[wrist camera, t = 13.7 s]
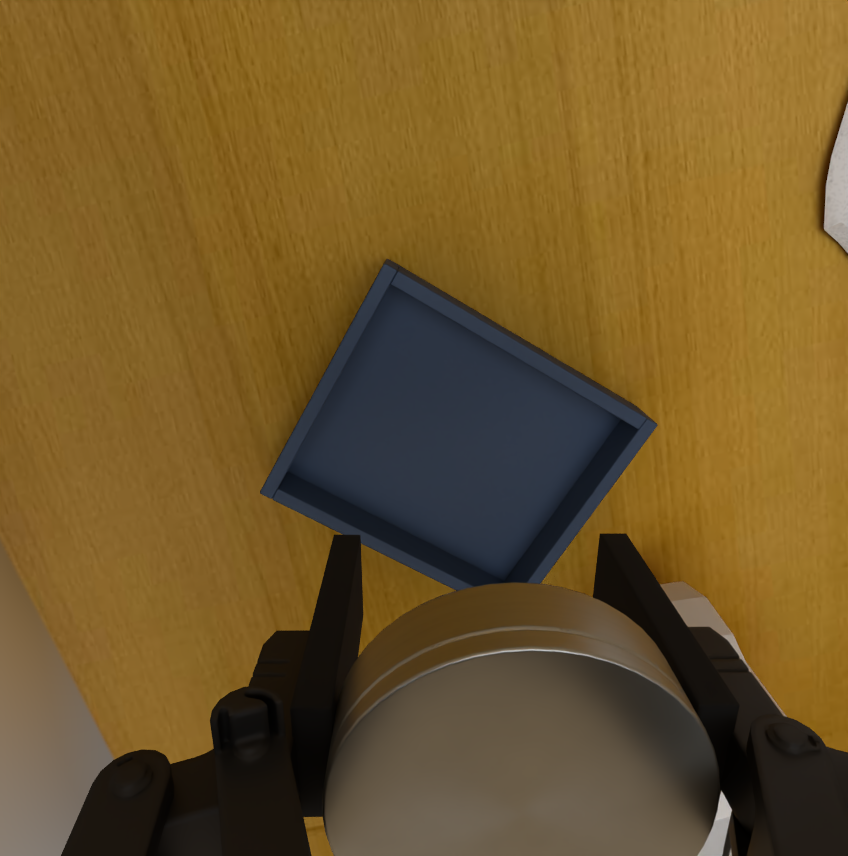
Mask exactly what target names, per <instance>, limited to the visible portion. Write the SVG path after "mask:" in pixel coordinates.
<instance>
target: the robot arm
mask: <svg viewBox="0 0 848 856" xmlns="http://www.w3.org/2000/svg"><path fill="white" fill-rule="evenodd" d="M593 598H595V599H598V600H600V601H602V602H604V603H606V604H608V605H610V606H611V607H613V608H615V609H616V610H618V611H620V612H621V613H623V614H625V615H626V616H627V617H628V618H630V619H631V620H632V621H633V622H635V623H636V624H637V625H638V626H640V627H641V628H642V629H643V630H644V631H645V632H646V634H647V635H648V636H649V637H650V638H651V639H652V640H653V641H654V642H655V644H656V645H657V647H658V648H659V650H660V651H661V653H662V654H663V656H664V657H665V659H666V660H667V662H668V664H669V666H670V667H671V669H672V671H673V673H674V674H675V676H676V678H677V680H678V682H679V683H680V685H681V687H682V689H683V690H684V692H685V694H686V696H687V697H688V699H689V701H690V703H691V705H692V706H693V709H694V710H695V712H696V713H697V715H698V717H699V719H700V720H701V722H702V724H703V726H704V728H705V729H706V731H707V734H708V736H709V738H710V740H711V743H712V745H713V747H714V750H715V754H716V758H717V763H718V767H719V780H720V794H721V790H722V792H723V794H724V796H725V798H726V800H727V802H728V804H729V806H730V807H731V809H732V812H731V816H730V821H729V825H728V829H727V834H726V838H725V843H724V847H723V855H722V856H729V854H730V850H731V853H732V856H848V753H847V752H843V751H839V750H835V749H832V748H829V747H826V746H825V744H824V743H823V741H822V739H821V738H820V737H819V736H818V735H817V734H816V733H815V732H814V731H812V730H811V729H810V728H809V727H807V726H805V725H803V724H802V723H800V722H798V721H797V720H794V719H791V718H788V717H785V716H783V715H782V713H781V712H780V711H779V709H778V708H777V706H776V705H775V704H774V702H773V701H772V700H771V698H770V697H769V696H768V694H767V693H766V692H765V690H764V689H763V687H762V686H761V685H760V683H759V682H758V681H757V679H756V678H755V677H754V675H753V674H752V672H749V668H748V667H747V666H746V664H745V663H744V662H743V660H742V659H740V658H739V655H738V653H737V652H736V651H735V649H734V648H733V647H732V645H731V644H730V643H729V641H728V640H727V639H725V638H724V637H723V636H721V635H720V634H719V633H717V632H716V631H715V630H713V629H712V628H710V627H688V626H687V625H686V623H685V622H684V620H683V619H682V617H681V616H680V614H679V613H678V611H677V610H676V608H675V607H674V605H673V604H672V602H671V601H670V599H669V598H668V596H667V595H666V593H665V592H664V590H663V589H662V587H661V586H660V584H659V583H658V581H657V580H656V578H655V577H654V575H653V574H652V572H651V571H650V569H649V568H648V566H647V564H646V563H645V561H644V560H643V558H642V557H641V555H640V554H639V552H638V551H637V549H636V548H635V546H634V545H633V543H632V542H631V540H630V539H629V537H628V536H627V534H600V538H599V547H598V556H597V565H596V575H595V584H594V593H593ZM362 621H363V595H362V566H361V537H360V535H334V537H333V541H332V545H331V549H330V553H329V557H328V560H327V564H326V568H325V572H324V576H323V580H322V584H321V588H320V592H319V596H318V600H317V604H316V608H315V612H314V616H313V620H312V624H311V627H310V631H276V632H275V633H274V634H273V635H272V636H271V637H270V638H269V639H268V640H267V641H266V642H265V643H264V644H263V647H262V650H261V652H260V655H259V658H258V662H257V664H256V667H255V669H254V672H253V677H252V678H251V681H250V684H249V686H248V687H243V688H240V689H238V690H235V691H232V692H230V693H229V694H227V695H226V696H225V697H223V698H222V699H221V700H219V702H218V703H217V704H216V706H215V707H214V708H213V710H212V713H211V718H210V724H211V732H212V739H213V746H214V749H212V750H211V751H209V752H207V753H205V754H203V755H200V756H197V757H195V758H191V759H187V760H184V761H180V762H177V763H173V764H170V763H169V761H168V759H167V757H166V756H165V755H164V754H162V753H160V752H158V751H156V750H138V751H134V752H130V753H127V754H125V755H123V756H121V757H119V758H117V759H115V760H113V761H112V762H111V763H110V764H109V765H107V766H106V767H105V768H104V769H103V770H102V771H101V772H100V773H99V775H98V776H97V778H96V779H95V781H94V782H93V784H92V786H91V788H90V791H89V793H88V795H87V797H86V800H85V802H84V804H83V807H82V809H81V811H80V813H79V816H78V818H77V820H76V823H75V825H74V827H73V829H72V832H71V834H70V836H69V839H68V841H67V843H66V845H65V848H64V850H63V852H62V854H61V856H311V852H310V847H309V842H308V838H307V833H306V828H305V823H304V819H303V817H323V815H322V793H323V787H324V780H325V774H326V769H327V762H328V755H329V749H330V744H331V738H332V733H333V726H334V720H335V714H336V708H337V702H338V697H339V694H340V692H341V689H342V686H343V683H344V680H345V678H346V677H347V675H348V673H349V671H350V669H351V668H352V666H353V664H354V662H355V661H356V660H357V658H358V651H359V644H360V636H361V628H362ZM719 799H720V795H719Z"/></svg>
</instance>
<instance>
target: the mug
mask: <svg viewBox="0 0 848 856" xmlns="http://www.w3.org/2000/svg"><path fill="white" fill-rule="evenodd" d="M660 586H661V587H662V589H663V590H664V592H665V593H666V595H667V596H668V598H669V599H670V601H671V602H672V604H673V605H674V607H675V608H676V610H677V611H678V613H679V614H680V616H681V617H682V619H683V620H684V622H685V623H686V625H687V626H688V627H710V628H712V629H713V630H715V631H716V632H717V633H719V634H720V635H721V636H723V637H724V638H725V639H727V640H728V641H729V643H730V644H731V645H732V647H733V648H734V649H735V651H736V652H737V653H738V655H739V658H740V659H742V660H743V662H744V663H745V664H746V666H747V667H748V668H749V672H752V674H753V675H754V677H755V678H756V679H757V681H758V682H759V683H760V685H761V686H762V687H763V689H764V690H765V692H766V693H767V694H768V696H769V697H770V698H771V700H772V701H773V702H774V704H775V705H776V706H777V708H778V709H779V711H780V712H781V713H782V715H783V716H785V717H787V716H786V715H785V714H784V712H783V711H782V710H781V708H780V707H779V706H778V704H777V703H776V701H775V700H774V699H773V697H772V696H771V695H770V693H769V692H768V691H767V689H766V688H765V687H764V685H763V684H762V683H761V681H760V680H759V679H758V677H757V676H756V675H755V673H754V672H753V671H752V669H751V668H750V667H749V665H748V664H747V663H746V661H745V659H744V657H743V655H742V653H741V650H740V648H739V646H738V644H737V642H736V640H735V638H734V635H733V634H732V632H731V631H730V629H729V628H728V627H727V625H726V624H725V623H724V621H723V620H722V618H721V617H720V616H719V614H718V613H717V612H716V610H715V609H714V607H713V606H712V605H711V603H710V602H709V600H708V599H707V598H706V597H705V596H703V595H702V594H701V593H699V592H698V591H696V590H695V589H694V588H692V587H691V586H689V585H688V584H686V583H685V582H684V581H681V582H674V583H667V584H660ZM731 812H732V809H731V807H730V806H729V804H728V802H727V800H726V798H725V796H724V794H723V792H722V790H721V794H720V799H719V803H718V810H717V814H716V817H715V820H714V824H713V827H712V830H711V832H710V834H709V836H708V838H707V840H706V842H705V844H704V846H703V848H702V849H701V851H700V852H699V854H698V855H697V856H722V855H723V847H724V843H725V838H726V834H727V829H728V825H729V821H730V816H731ZM729 856H732V853H731V850H730V854H729Z"/></svg>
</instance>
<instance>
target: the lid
mask: <svg viewBox="0 0 848 856" xmlns="http://www.w3.org/2000/svg"><path fill="white" fill-rule="evenodd" d="M719 795H720V780H719V767H718V763H717V758H716V754H715V750H714V747H713V745H712V743H711V740H710V738H709V736H708V734H707V731H706V729H705V728H704V726H703V724H702V722H701V720H700V719H699V717H698V715H697V713H696V712H695V710H694V709H693V706H692V705H691V703H690V701H689V699H688V697H687V696H686V694H685V692H684V690H683V689H682V687H681V685H680V683H679V682H678V680H677V678H676V676H675V674H674V673H673V671H672V669H671V667H670V666H669V664H668V662H667V660H666V659H665V657H664V656H663V654H662V653H661V651H660V650H659V648H658V647H657V645H656V644H655V642H654V641H653V640H652V639H651V638H650V637H649V636H648V635H647V634H646V632H645V631H644V630H643V629H642V628H641V627H640V626H638V625H637V624H636V623H635V622H633V621H632V620H631V619H630V618H628V617H627V616H626V615H625V614H623V613H621V612H620V611H618V610H616V609H615V608H613V607H611V606H610V605H608V604H606V603H604V602H602V601H600V600H598V599H595V598H593V597H590V596H588V595H586V594H583V593H579V592H576V591H573V590H569V589H566V588H562V587H557V586H551V585H546V584H538V583H517V582H512V583H497V584H486V585H481V586H476V587H470V588H465V589H462V590H458V591H455V592H452V593H448V594H445V595H442V596H440V597H437V598H435V599H432V600H430V601H428V602H426V603H423V604H421V605H419V606H418V607H416V608H414V609H412V610H411V611H409V612H407V613H405V614H404V615H402V616H400V617H399V618H398V619H396V620H395V621H394V622H393V623H391V624H390V625H388V626H387V627H386V628H385V629H383V630H382V631H381V632H380V633H379V634H378V635H377V636H376V637H375V638H374V639H373V640H372V641H371V642H370V643H369V644H368V645H367V646H366V648H365V649H364V650H363V652H362V653H361V654H360V656H359V657H358V658H357V660H356V661H355V662H354V664H353V666H352V668H351V669H350V671H349V673H348V675H347V677H346V678H345V680H344V683H343V686H342V689H341V692H340V694H339V697H338V702H337V708H336V714H335V720H334V726H333V733H332V738H331V744H330V749H329V755H328V762H327V769H326V774H325V780H324V787H323V793H322V815H323V821H324V827H325V832H326V835H327V838H328V841H329V844H330V847H331V850H332V852H333V854H334V856H697V855H698V854H699V852H700V851H701V849H702V848H703V846H704V844H705V842H706V840H707V838H708V836H709V834H710V832H711V830H712V827H713V824H714V820H715V817H716V814H717V810H718V803H719Z"/></svg>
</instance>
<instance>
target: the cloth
mask: <svg viewBox="0 0 848 856" xmlns="http://www.w3.org/2000/svg"><path fill="white" fill-rule="evenodd" d="M824 230H825V231H826V232H827V233H828V234H829V235H831V236H832V237H833V238H834V239H835V240H836V241H837V242H838V243H839V244H840V245H841V246H842V247H843V248H844V250H845V251H846V252H847V253H848V103H847V106H846V110H845V113H844V116H843V120H842V123H841V126H840V129H839V133H838V136H837V139H836V143H835V146H834V149H833V153H832V156H831V161H830V167H829V172H828V177H827V183H826V197H825V217H824Z"/></svg>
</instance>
